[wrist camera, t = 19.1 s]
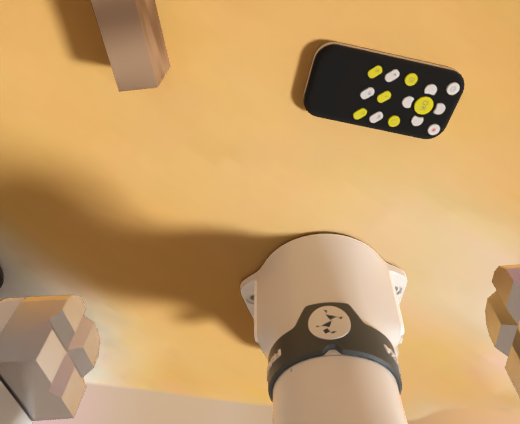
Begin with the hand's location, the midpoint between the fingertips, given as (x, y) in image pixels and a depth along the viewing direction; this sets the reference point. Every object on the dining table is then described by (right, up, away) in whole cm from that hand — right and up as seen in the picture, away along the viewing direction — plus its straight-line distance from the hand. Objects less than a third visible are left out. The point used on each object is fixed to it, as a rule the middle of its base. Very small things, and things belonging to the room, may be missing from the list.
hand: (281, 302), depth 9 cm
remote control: (+10, +13, +30) cm, 34 cm away
